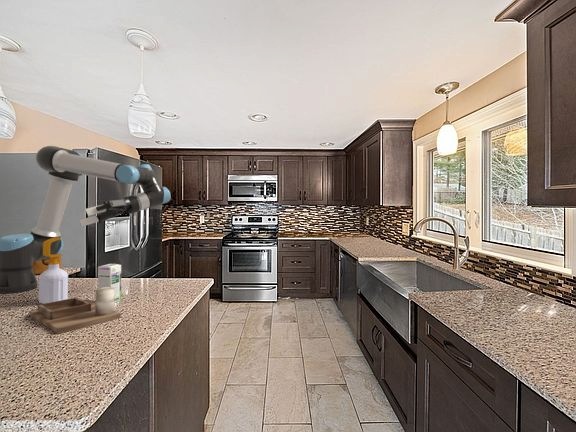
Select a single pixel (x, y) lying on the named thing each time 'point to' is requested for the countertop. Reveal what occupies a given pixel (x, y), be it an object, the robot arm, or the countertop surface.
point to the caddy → (77, 311)
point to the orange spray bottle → (43, 265)
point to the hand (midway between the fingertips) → (83, 218)
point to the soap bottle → (52, 278)
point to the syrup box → (110, 278)
